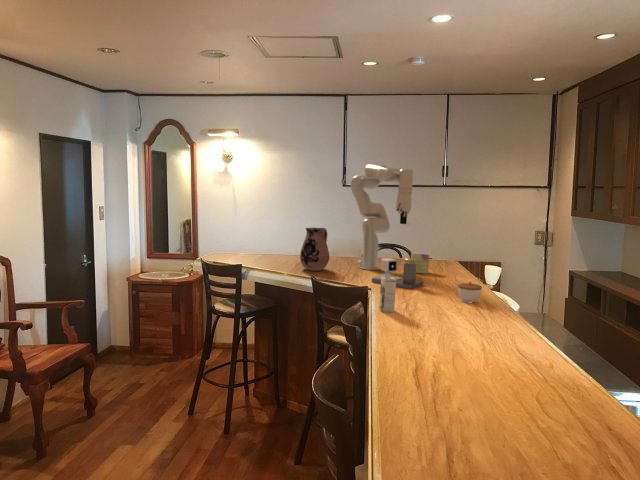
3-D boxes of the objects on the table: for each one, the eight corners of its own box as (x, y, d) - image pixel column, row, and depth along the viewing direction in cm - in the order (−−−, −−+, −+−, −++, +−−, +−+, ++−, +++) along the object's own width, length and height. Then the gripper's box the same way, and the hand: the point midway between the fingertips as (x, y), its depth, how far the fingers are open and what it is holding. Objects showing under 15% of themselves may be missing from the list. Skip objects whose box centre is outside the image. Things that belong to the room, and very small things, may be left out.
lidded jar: (463, 297, 255) (464, 278, 253) (484, 301, 248) (485, 282, 247) (453, 301, 246) (454, 281, 245) (475, 305, 240) (476, 285, 238)
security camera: (387, 278, 280) (388, 260, 279) (379, 276, 286) (380, 258, 285) (396, 278, 283) (397, 259, 282) (388, 275, 289) (389, 257, 288)
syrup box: (378, 308, 227) (380, 276, 226) (391, 308, 228) (393, 276, 226) (381, 312, 222) (383, 278, 220) (394, 312, 222) (396, 279, 220)
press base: (371, 282, 283) (372, 260, 281) (384, 278, 294) (385, 257, 292) (411, 289, 268) (412, 266, 267) (423, 285, 280) (424, 263, 278)
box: (427, 272, 319) (428, 253, 318) (428, 273, 314) (429, 254, 312) (410, 271, 320) (411, 252, 319) (410, 272, 315) (411, 253, 313)
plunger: (401, 280, 276) (402, 258, 275) (406, 278, 281) (408, 257, 279) (411, 281, 272) (413, 260, 271) (416, 280, 277) (418, 258, 276)
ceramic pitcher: (294, 270, 308) (296, 228, 305) (309, 265, 328) (310, 225, 324) (322, 273, 302) (324, 230, 298) (335, 268, 321) (336, 227, 318)
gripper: (405, 190, 300) (403, 222, 302) (392, 191, 288) (390, 224, 290) (417, 191, 295) (415, 223, 298) (404, 191, 284) (402, 225, 286)
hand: (403, 223), depth 294 cm, fingers closed
